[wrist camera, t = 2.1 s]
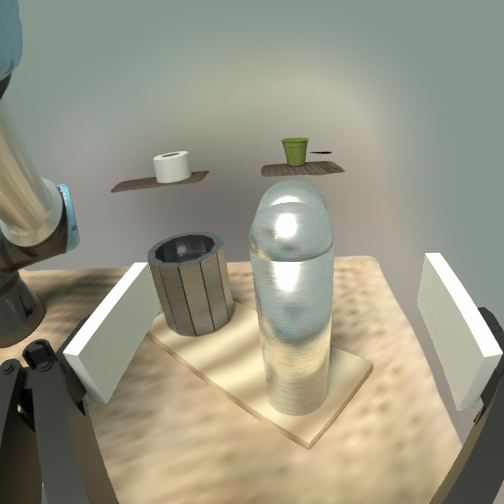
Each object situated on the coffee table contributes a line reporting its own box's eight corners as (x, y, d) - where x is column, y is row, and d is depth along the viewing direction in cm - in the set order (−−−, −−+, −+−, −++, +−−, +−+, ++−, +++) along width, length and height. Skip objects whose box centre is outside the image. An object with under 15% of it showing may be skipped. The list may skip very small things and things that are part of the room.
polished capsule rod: (326, 415, 29) (338, 216, 20) (263, 415, 30) (237, 219, 21) (324, 354, 37) (326, 178, 28) (272, 354, 38) (255, 182, 29)
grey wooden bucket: (155, 317, 47) (135, 253, 42) (203, 288, 54) (191, 227, 49) (195, 346, 41) (175, 275, 36) (247, 309, 47) (237, 241, 42)
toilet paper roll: (195, 172, 144) (191, 149, 139) (185, 181, 130) (181, 155, 125) (164, 176, 146) (160, 153, 141) (152, 185, 132) (147, 161, 127)
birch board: (144, 333, 47) (141, 325, 46) (207, 294, 55) (206, 286, 54) (308, 450, 27) (308, 443, 27) (371, 371, 35) (373, 363, 35)
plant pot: (313, 166, 130) (311, 139, 125) (285, 168, 130) (282, 142, 125) (307, 160, 140) (305, 136, 135) (281, 163, 140) (278, 138, 135)
